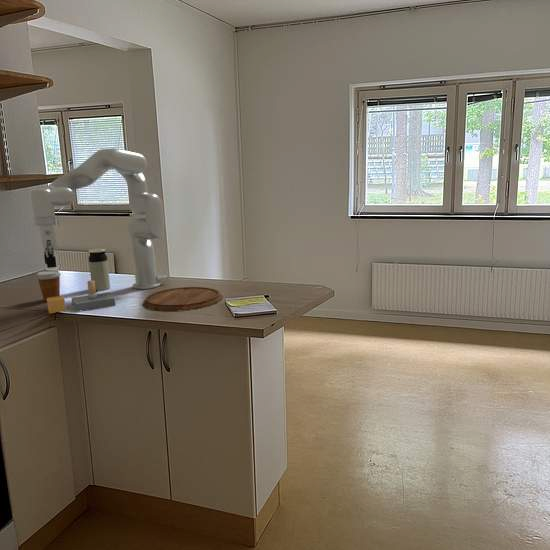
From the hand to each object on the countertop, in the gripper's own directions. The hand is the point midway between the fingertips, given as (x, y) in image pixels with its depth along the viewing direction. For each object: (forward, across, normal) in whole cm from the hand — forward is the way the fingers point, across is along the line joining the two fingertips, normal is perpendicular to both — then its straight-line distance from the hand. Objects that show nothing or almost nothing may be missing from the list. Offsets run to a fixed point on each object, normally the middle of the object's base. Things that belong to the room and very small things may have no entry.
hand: (50, 265), depth 208 cm
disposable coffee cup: (+18, +21, 0) cm, 28 cm away
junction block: (+18, 0, -14) cm, 23 cm away
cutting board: (+19, -15, -47) cm, 53 cm away
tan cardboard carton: (+18, 0, 0) cm, 18 cm away
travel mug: (+18, +29, -22) cm, 41 cm away
